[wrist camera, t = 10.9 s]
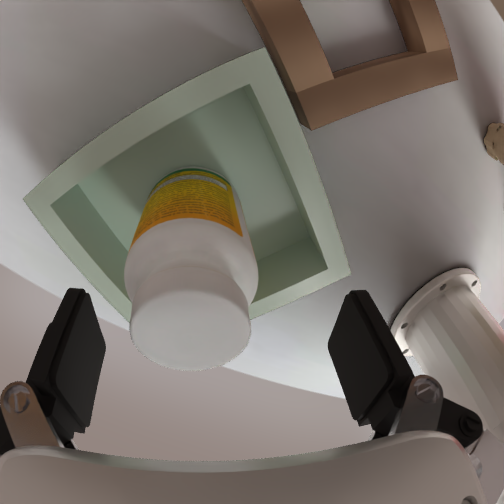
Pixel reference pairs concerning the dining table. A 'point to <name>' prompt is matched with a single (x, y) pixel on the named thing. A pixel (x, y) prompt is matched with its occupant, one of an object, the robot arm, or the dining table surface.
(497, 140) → the handle
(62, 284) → the dining table surface
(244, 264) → the supplement bottle
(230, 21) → the dining table surface
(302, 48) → the holder
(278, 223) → the bin
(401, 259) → the dining table surface
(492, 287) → the dining table surface
